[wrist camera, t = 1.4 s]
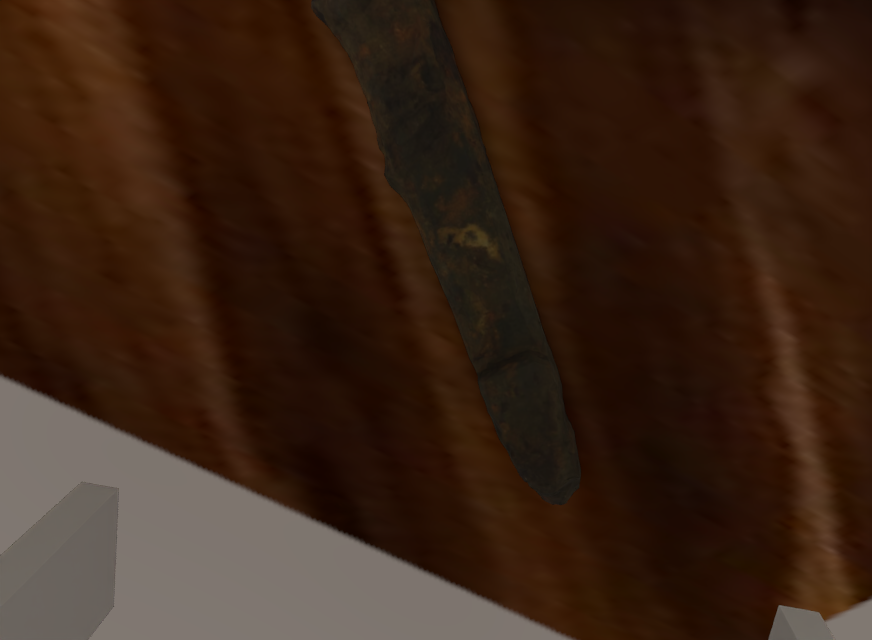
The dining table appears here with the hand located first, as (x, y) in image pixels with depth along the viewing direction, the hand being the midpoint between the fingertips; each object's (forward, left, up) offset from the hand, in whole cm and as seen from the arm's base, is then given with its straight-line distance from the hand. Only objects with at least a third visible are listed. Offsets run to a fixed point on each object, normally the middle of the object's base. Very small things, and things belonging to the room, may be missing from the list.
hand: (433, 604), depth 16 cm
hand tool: (0, +5, -15) cm, 16 cm away
